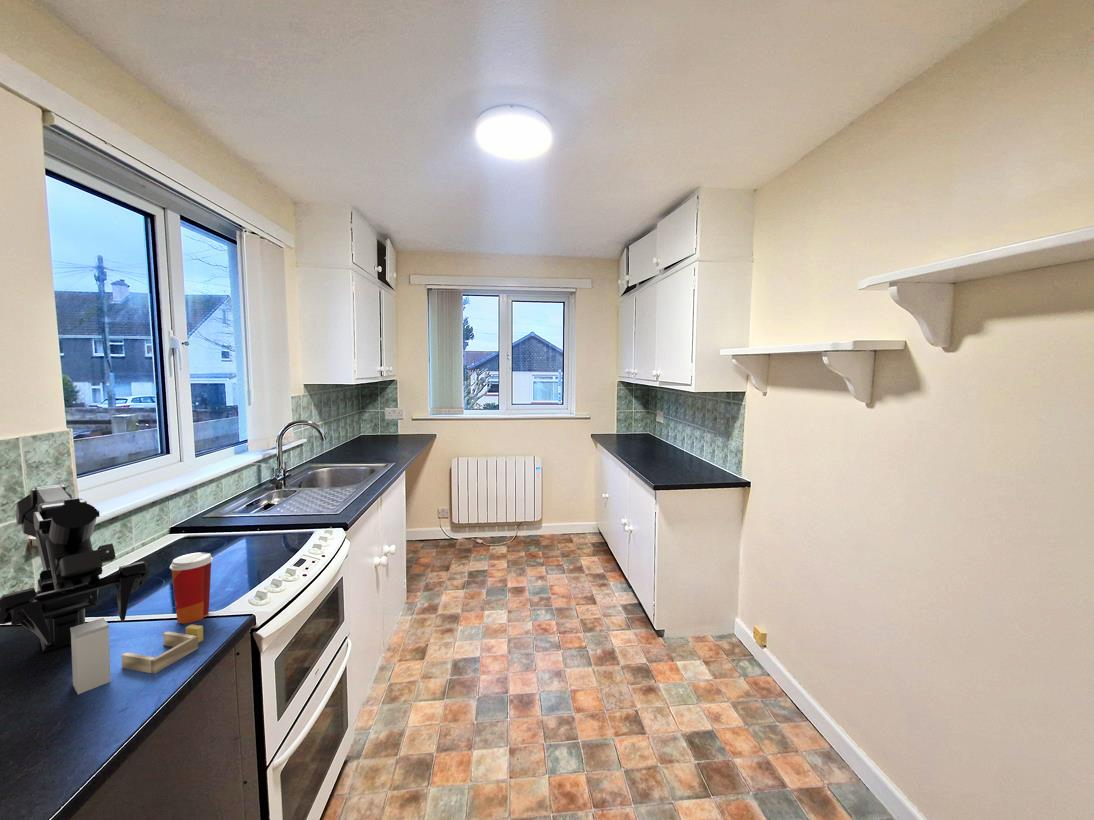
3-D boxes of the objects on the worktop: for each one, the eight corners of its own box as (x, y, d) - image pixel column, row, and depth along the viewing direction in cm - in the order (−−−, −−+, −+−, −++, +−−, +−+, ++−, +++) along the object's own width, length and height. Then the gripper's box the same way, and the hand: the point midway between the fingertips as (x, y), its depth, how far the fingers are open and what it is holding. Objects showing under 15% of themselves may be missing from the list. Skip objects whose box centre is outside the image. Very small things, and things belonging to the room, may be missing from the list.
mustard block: (185, 641, 90) (185, 627, 90) (191, 638, 91) (191, 624, 91) (197, 643, 89) (197, 629, 89) (203, 640, 91) (202, 626, 90)
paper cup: (196, 607, 104) (194, 550, 103) (222, 610, 102) (221, 552, 102) (161, 624, 96) (159, 562, 96) (189, 628, 95) (187, 566, 94)
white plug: (72, 685, 76) (70, 627, 76) (105, 673, 80) (103, 617, 79) (77, 694, 74) (75, 635, 74) (110, 681, 78) (108, 624, 77)
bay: (121, 667, 81) (121, 654, 81) (167, 643, 89) (167, 631, 89) (154, 673, 80) (154, 660, 80) (198, 648, 88) (197, 636, 88)
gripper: (-5, 549, 72) (7, 634, 66) (144, 521, 87) (165, 588, 82) (-8, 583, 77) (3, 666, 71) (134, 551, 92) (153, 617, 86)
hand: (88, 631), depth 77 cm, fingers open, 9 cm apart
